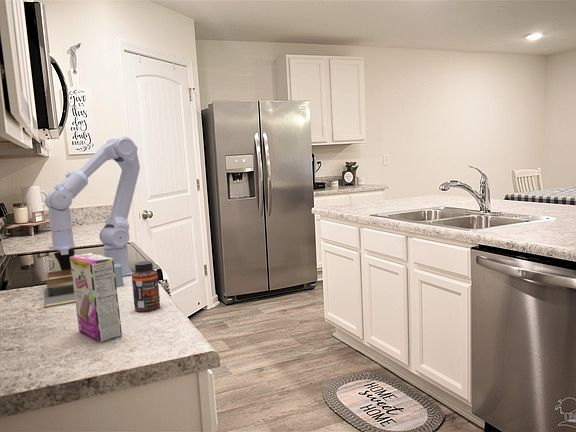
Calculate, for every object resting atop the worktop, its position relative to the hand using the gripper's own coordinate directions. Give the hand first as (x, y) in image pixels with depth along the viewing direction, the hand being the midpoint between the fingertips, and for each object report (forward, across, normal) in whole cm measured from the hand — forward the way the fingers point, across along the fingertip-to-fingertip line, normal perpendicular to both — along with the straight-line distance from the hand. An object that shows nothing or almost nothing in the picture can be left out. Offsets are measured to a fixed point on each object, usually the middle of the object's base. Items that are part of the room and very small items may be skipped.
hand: (67, 274), depth 145 cm
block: (+3, +11, +12) cm, 17 cm away
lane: (+3, +12, 0) cm, 12 cm away
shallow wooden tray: (+3, +8, 0) cm, 9 cm away
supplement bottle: (+3, +41, +16) cm, 44 cm away
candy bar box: (+3, +53, +4) cm, 53 cm away
